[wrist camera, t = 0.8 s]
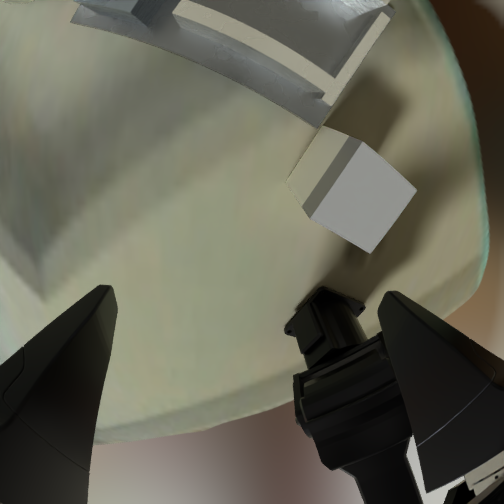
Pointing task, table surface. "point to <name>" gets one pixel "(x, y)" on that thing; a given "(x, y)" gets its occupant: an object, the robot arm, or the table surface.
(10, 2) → the plastic bottle
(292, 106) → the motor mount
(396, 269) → the table surface
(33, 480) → the robot arm
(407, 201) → the grey rectangular block
